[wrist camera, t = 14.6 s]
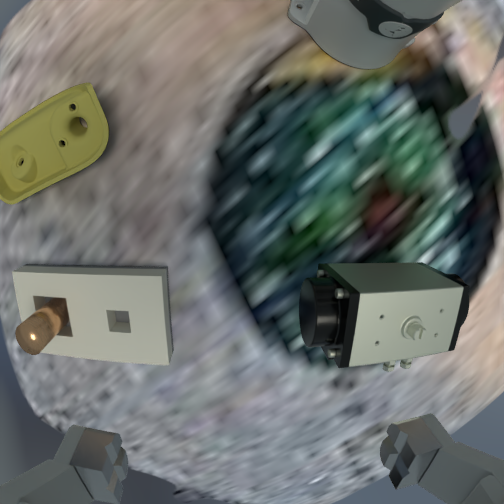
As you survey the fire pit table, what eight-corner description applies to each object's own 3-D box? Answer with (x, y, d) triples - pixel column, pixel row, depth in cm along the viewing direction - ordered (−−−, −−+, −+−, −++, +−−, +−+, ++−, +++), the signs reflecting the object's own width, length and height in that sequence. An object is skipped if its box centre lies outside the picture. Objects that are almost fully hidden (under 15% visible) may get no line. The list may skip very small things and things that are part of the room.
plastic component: (6, 209, 34) (-27, 150, 27) (27, 183, 39) (0, 130, 33) (121, 153, 32) (88, 74, 26) (134, 133, 38) (108, 67, 32)
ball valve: (283, 312, 42) (318, 393, 25) (287, 250, 40) (330, 302, 23) (401, 306, 44) (473, 364, 26) (409, 250, 42) (493, 290, 24)
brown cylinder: (48, 294, 38) (12, 321, 28) (72, 296, 38) (38, 325, 29) (53, 320, 39) (19, 352, 29) (76, 322, 39) (45, 357, 29)
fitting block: (41, 338, 40) (29, 350, 36) (26, 264, 38) (12, 271, 34) (173, 350, 42) (169, 365, 38) (167, 266, 40) (161, 276, 36)
